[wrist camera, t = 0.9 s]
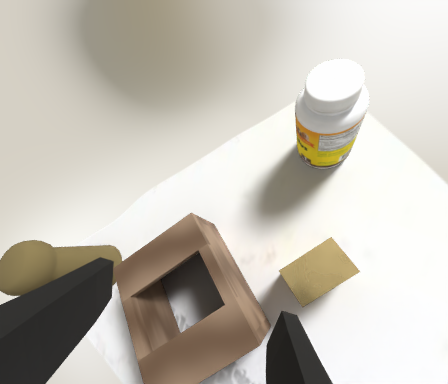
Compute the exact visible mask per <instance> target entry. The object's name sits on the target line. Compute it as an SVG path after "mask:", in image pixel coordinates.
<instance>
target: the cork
mask: <svg viewBox="0 0 448 384" xmlns="http://www.w3.org/2000/svg"><path fill="white" fill-rule="evenodd" d="M99 257H102V258H105V259H108V260H112V261H114V266H113V268H114V267H116V266H117V265H118V264H120V263H121V262H122V257H121V254H120V252H119V250H118V249H117V248H116V247H114V246H111V245H103V246H77V247H52V246H51V245H50V244H47V243H45V242H42V241H37V240H31V241H23V242H20V243H17V244H15V245H13V246H12V247H11V248H10V249H9V250H7V251H6V253H5V254H4V255H3V256H2V258H1V260H0V291H1V292H3V293H5V294H7V295H11V296H21V295H23V294H26V293H28V292H30V291H32V290H34V289H37V288H39V287H41V286H43V285H45V284H47V283H49V282H51V281H53V280H55V279H57V278H59V277H61V276H63V275H65V274H67V273H69V272H71V271H73V270H75V269H77V268H79V267H81V266H83V265H85V264H87V263H89V262H91V261H93V260H95V259H97V258H99ZM115 283H116V278H115V275H114V271H113V283H112V286H113V285H114V284H115Z"/></svg>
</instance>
